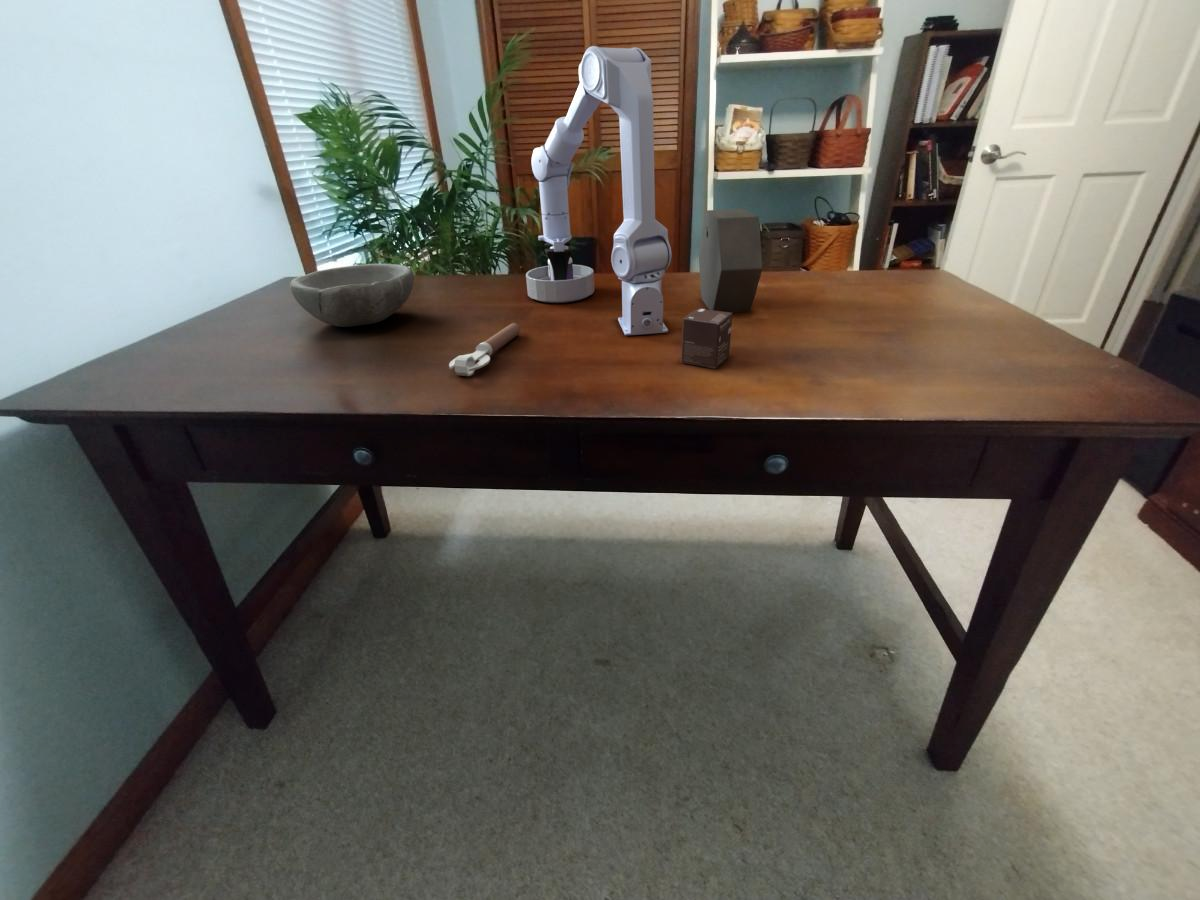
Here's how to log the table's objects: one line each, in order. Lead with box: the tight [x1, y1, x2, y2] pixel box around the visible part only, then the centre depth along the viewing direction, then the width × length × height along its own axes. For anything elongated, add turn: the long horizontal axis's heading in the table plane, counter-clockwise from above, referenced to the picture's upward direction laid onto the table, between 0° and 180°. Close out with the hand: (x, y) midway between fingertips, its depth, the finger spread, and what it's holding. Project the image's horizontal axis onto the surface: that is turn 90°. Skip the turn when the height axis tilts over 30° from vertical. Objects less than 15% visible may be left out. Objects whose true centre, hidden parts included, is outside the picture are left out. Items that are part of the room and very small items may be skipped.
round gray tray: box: [525, 264, 595, 304], centre depth 122 cm, size 15×15×5 cm
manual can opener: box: [448, 322, 521, 377], centre depth 92 cm, size 21×6×3 cm, turn 167°
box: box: [680, 308, 734, 369], centre depth 85 cm, size 6×6×7 cm
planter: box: [698, 208, 763, 313], centre depth 108 cm, size 17×8×21 cm
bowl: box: [289, 263, 415, 328], centre depth 109 cm, size 23×22×10 cm
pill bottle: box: [547, 245, 574, 281], centre depth 119 cm, size 5×5×10 cm
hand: (560, 279), depth 120 cm, fingers closed on pill bottle, 5 cm apart
